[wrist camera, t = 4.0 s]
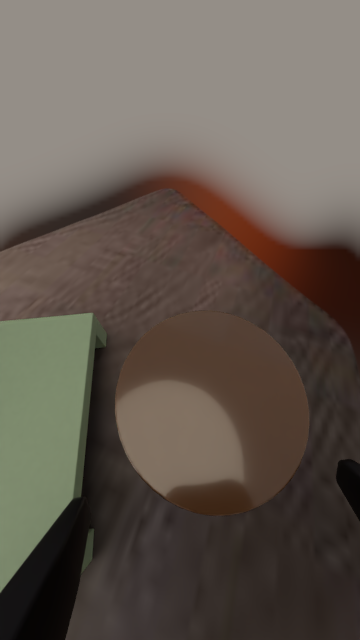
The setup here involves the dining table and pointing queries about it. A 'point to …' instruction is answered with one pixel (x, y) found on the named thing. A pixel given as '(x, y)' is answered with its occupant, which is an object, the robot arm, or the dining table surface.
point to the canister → (212, 413)
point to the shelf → (42, 427)
